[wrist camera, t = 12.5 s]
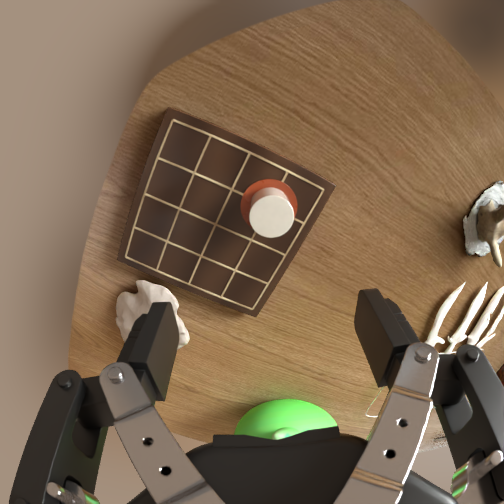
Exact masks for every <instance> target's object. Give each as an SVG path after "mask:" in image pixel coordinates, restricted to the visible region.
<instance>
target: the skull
mask: <svg viewBox="0 0 504 504" xmlns="http://www.w3.org/2000/svg"><path fill="white" fill-rule="evenodd" d="M498 182H499V184H497V182H496V185H493V187H491V188H490V189H487V190H485V191H484V193H483V194H482V195H481V196H480V199H478V200H477V201H476V203H475V204H474V206H473V208H472V209H471V211H472V212H470V214H469V217H468V218H467V219H466V217H467V215H466V216H465V217H464V219H463V222H464V226H463V228H464V230H465V231H464V234H465V236H466V237H465V238H466V240H465V241H466V243H465V244H466V245H465V247H466V249H467V250H465V251H466V254H468V255H469V256H470V255H472V254H474V253H477V254H479V255H480V256H479V255H478V257H482V256H485V255H486V254H487V253H489V252H490V251H491V254H492V257H493V261H494V262H495V264H496V265H497V266H498V267H501V266H502V259H501V255H500V251H499V247H498V246H499V244H500V243H501V241H502V240H503V239H504V184H501V182H502V181H498ZM502 183H503V182H502ZM474 251H475V252H474ZM470 252H471V253H470ZM473 252H474V253H473Z"/></svg>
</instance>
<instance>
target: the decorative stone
mask: <svg viewBox="0 0 504 504" xmlns="http://www.w3.org/2000/svg"><path fill="white" fill-rule="evenodd" d="M136 285H137V287H138V293H136V294H132V293H129V292H122V293H121V294H120V295H119V297H118V298H117V304H116V310H117V318H116V324H117V326H118V327H119V329H120V332H121V336H122V338H123V340H124V342H125V341H126V339H127V338H128V335H129V333H130V331H131V328H132V326H133V324H134V322H135V320H136V319H137V318H138V317H140V316H141V315H142V314H148V312H149V309H150V307H151V305H152V303H153V302H171V304H172V307H173V310H174V314H175V318H176V321H177V325H178V329H179V344H178V348H177V350H178V349H179V348H181V347H183V346H184V345H186V344H187V343H188V341H189V340H190V337H189V334H188V331H187V329H186V328H185V326H184V323H183V321H182V320H181V319H180V318H179V316H178V315H177V309H178V307H179V304H178V301H177V300H176V298H175V297H174V296H173V294H172V293H171V292H170V291H169V290H168V289H167V288H166V287H163V286H162V285H156V284H153V283H151V282H148V281H146V280H138V281H136Z"/></svg>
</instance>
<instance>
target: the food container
mask: <svg viewBox="0 0 504 504" xmlns="http://www.w3.org/2000/svg"><path fill="white" fill-rule="evenodd" d="M497 376H498V378H499V380H500V381H501V383H502V385H503V387H504V365H503V366H502V367H501V369H500V370H499V371H498V373H497Z"/></svg>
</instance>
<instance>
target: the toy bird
mask: <svg viewBox="0 0 504 504" xmlns="http://www.w3.org/2000/svg"><path fill="white" fill-rule="evenodd" d="M333 426H337V424H336V422H335V420H334V419H333V418H332V417H331V416H330V415H329V414H328V413H327V412H326V411H325V410H323V409H322V408H320V407H318V406H316V405H314V404H311V403H309V402H305V401H301V400H295V399H279V400H272V401H268V402H265V403H262V404H260V405H257V406H256V407H254V408H252V409H251V410H249V411H248V412H247V413H246V414H245V415H244V416H243V417H242V418H241V419H240V421H239V423H238V424H237V427H236V429H235V433H234V435H249V436H254V437H260V438H266V439H273V440H278V439H282V438H285V437H289V436H292V435H295V434H298V433H301V432H304V431H307V430H312V429H319V428H326V427H333Z"/></svg>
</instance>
